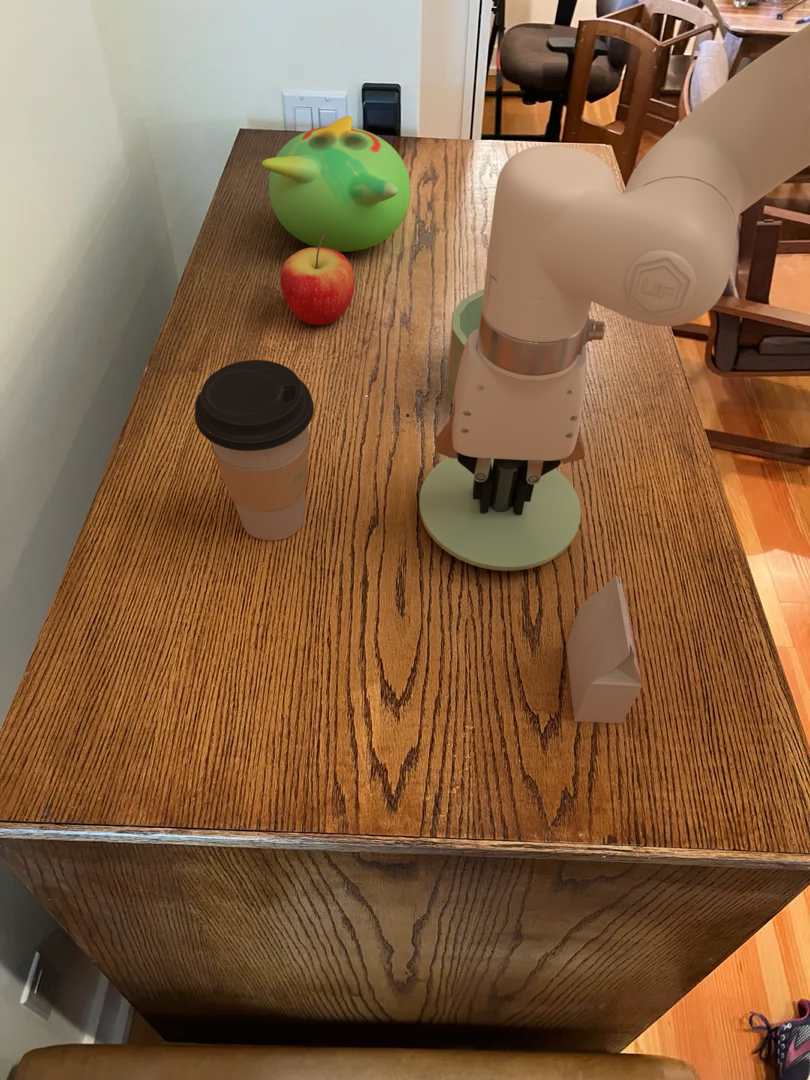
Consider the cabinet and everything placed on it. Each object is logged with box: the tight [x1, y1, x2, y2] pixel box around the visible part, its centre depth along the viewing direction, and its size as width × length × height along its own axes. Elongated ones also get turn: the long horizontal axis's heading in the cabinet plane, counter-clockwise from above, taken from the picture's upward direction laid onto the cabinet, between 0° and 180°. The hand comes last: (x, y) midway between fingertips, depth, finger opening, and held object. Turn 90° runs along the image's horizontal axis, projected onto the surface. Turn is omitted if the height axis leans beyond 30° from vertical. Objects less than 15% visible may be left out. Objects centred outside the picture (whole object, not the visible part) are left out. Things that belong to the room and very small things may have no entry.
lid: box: [418, 457, 582, 572], centre depth 69 cm, size 15×15×7 cm
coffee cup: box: [194, 359, 315, 542], centre depth 66 cm, size 9×9×15 cm
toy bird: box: [261, 115, 412, 253], centre depth 97 cm, size 18×17×15 cm
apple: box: [280, 232, 355, 326], centre depth 88 cm, size 8×8×10 cm
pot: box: [446, 289, 484, 405], centre depth 81 cm, size 14×19×8 cm
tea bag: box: [565, 574, 643, 725], centre depth 57 cm, size 4×7×10 cm, turn 178°
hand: (500, 501), depth 70 cm, fingers closed on lid, 2 cm apart
